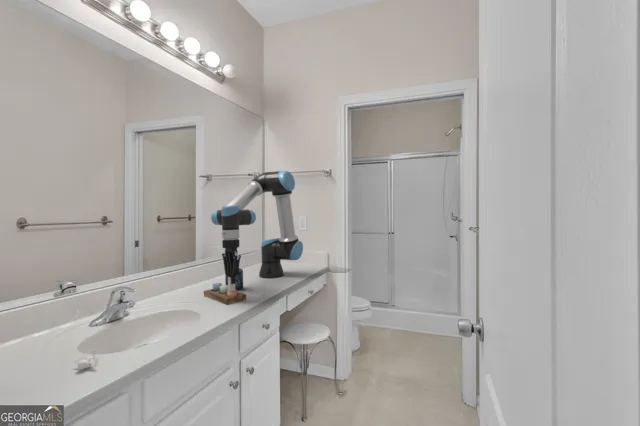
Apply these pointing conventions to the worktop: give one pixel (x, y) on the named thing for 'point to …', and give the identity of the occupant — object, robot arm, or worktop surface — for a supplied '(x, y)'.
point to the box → (237, 280)
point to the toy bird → (87, 361)
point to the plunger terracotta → (232, 293)
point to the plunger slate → (216, 287)
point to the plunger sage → (223, 289)
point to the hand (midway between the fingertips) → (231, 290)
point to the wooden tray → (224, 297)
